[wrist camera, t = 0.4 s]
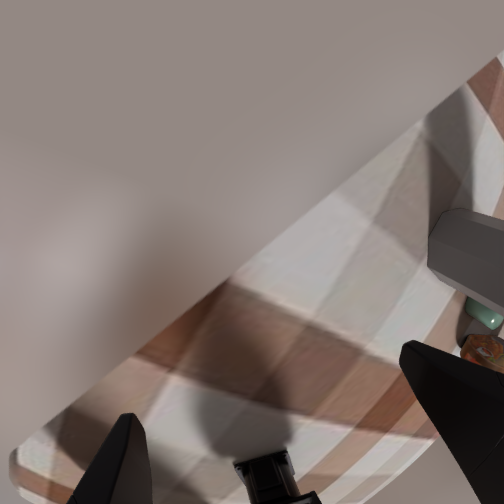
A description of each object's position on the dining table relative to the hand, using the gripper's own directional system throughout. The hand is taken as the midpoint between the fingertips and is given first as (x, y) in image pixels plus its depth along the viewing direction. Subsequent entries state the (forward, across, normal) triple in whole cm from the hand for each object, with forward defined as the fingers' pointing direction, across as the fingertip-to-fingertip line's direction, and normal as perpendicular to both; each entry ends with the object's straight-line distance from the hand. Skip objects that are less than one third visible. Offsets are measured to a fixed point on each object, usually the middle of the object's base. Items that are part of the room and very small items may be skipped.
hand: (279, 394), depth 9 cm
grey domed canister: (+14, -23, +5) cm, 27 cm away
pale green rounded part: (+13, -29, +13) cm, 34 cm away
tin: (+13, -33, +22) cm, 41 cm away
